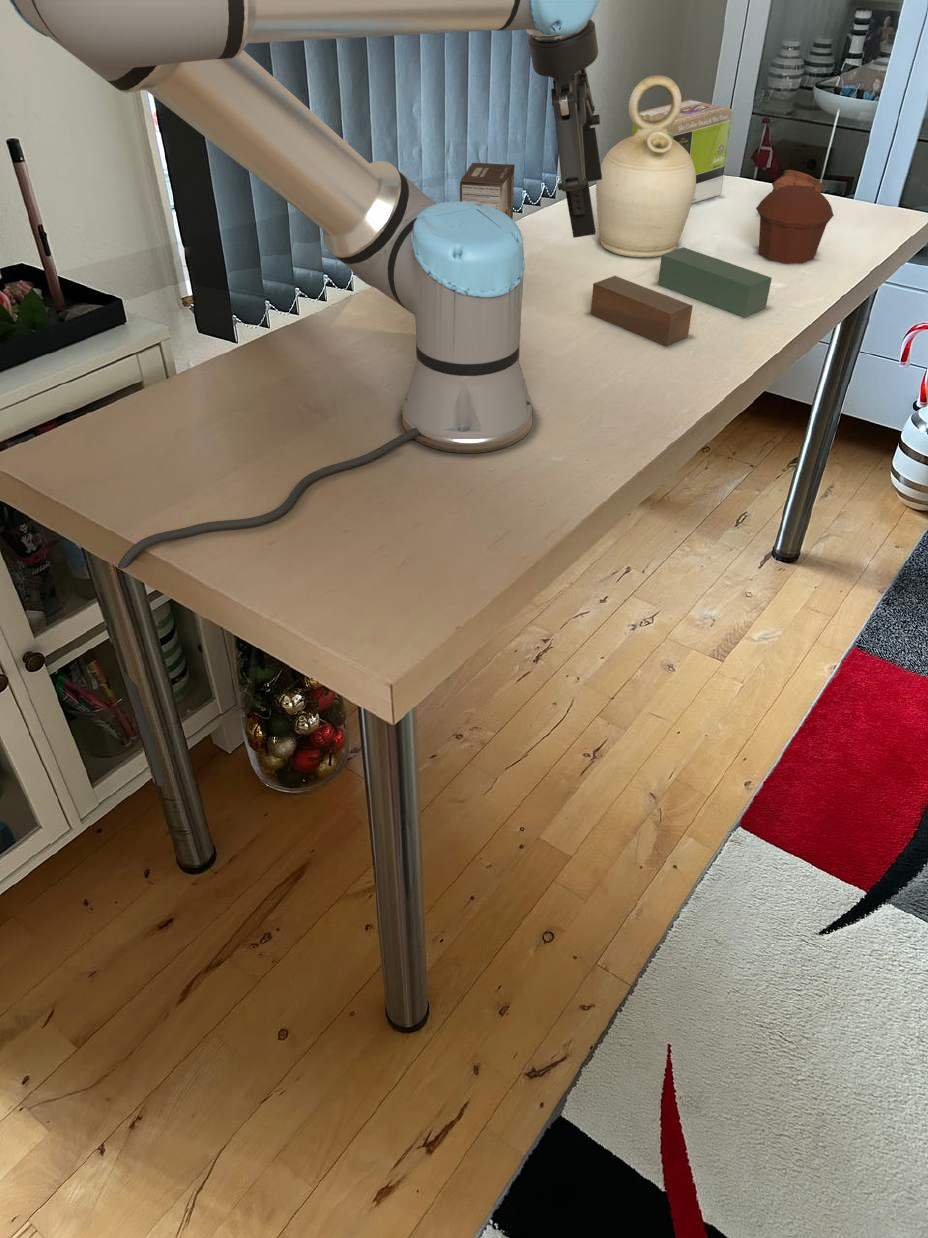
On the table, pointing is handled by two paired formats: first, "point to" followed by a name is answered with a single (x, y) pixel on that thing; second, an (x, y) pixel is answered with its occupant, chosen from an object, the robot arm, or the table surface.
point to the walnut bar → (641, 310)
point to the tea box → (700, 141)
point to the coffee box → (489, 186)
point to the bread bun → (797, 180)
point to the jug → (646, 183)
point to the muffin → (792, 224)
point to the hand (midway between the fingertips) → (588, 206)
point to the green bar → (714, 281)
